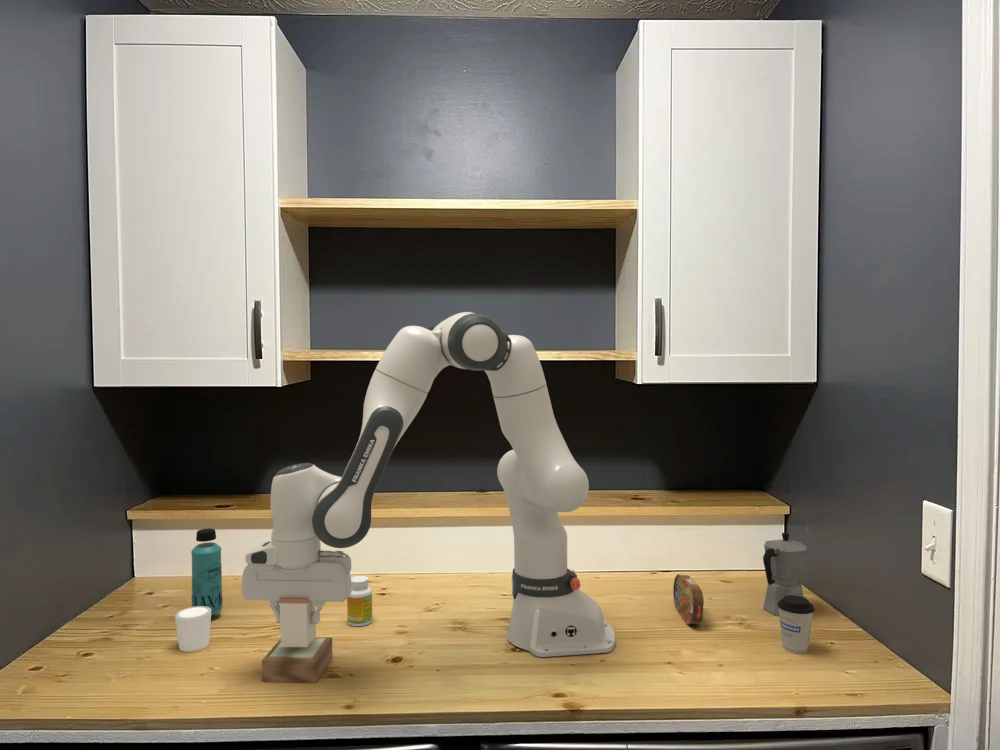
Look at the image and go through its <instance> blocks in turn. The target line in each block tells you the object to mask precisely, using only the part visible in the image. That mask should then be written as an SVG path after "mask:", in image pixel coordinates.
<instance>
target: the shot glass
mask: <svg viewBox="0 0 1000 750" xmlns="http://www.w3.org/2000/svg"><path fill="white" fill-rule="evenodd" d="M211 617H212V615H211V608H209V607H206V606H195V607H192V606H191V607H185V608H184V609H180V610H179V611H177V612H175V614H174V620H175V628H176V634H177V643H178V648H179V650H180V651H182V652H188V653H189V652H196V651H199V650H202V649H204V648H206V647H208V646H209V645H210V635H211V633H210V632H211V621H212V618H211Z"/></svg>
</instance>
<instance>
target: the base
mask: <svg viewBox="0 0 1000 750" xmlns="http://www.w3.org/2000/svg"><path fill="white" fill-rule="evenodd" d="M333 655H334V653H333V637H326V636H324V637H323V636H321V637H320V636H315V638H314V639H313V640H312V642H311V643H310V644H309V646H308V647H281V638H280V639H278V641H277V642H276V643H275V644H274V646H273V647H272V648H271V649H270V650H269V651H268V652H267V654H266V655H265V656H264V657H263V658H262V660H261V674H262V676H261V677H262V680H261V682H262V683H265V682H266V683H299V684H300V683H311V684H316V683H317V682H318V680H319V679H320V678H321V676H322V675H323V673H324V671H325V670H326V668H327V667H328V665H329V664H330V662H331V661H332V659H333Z"/></svg>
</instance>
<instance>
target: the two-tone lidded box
mask: <svg viewBox="0 0 1000 750" xmlns="http://www.w3.org/2000/svg"><path fill="white" fill-rule="evenodd" d="M279 604H280V623H279V626H280V630H279V631H280V639H281V647H308V646H309V644H310V643H311V642H312V640H313V639H314V638H315V637H317V625H316V624H310V614H311V613H312V612H316V607H315V601H308V598H291V597H280V598H279Z"/></svg>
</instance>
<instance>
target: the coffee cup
mask: <svg viewBox="0 0 1000 750" xmlns="http://www.w3.org/2000/svg"><path fill="white" fill-rule="evenodd" d="M777 606H778V607H779V616H778V617H779V623H780V633H781V634H780V635H781V640H782V641H781V642H782V648H783V650H785V651H786V652H789V653H791V654H792V653H793V654H798V655H799V654H800V655H801V654H802V655H803V654H806V653H807V652H808V650H809V643H810V638H811V637H810V636H811V631H812V623H813V618H814V617H813V616H814V612H815V611H816V609H815V606H814V605H813V604H812V603H811V602H810V601H809V599H807V598H806V597H804V596H803V597H800V596H795V595H788V596H784V598H783V599H781V600H779V601H778V603H777Z"/></svg>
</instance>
